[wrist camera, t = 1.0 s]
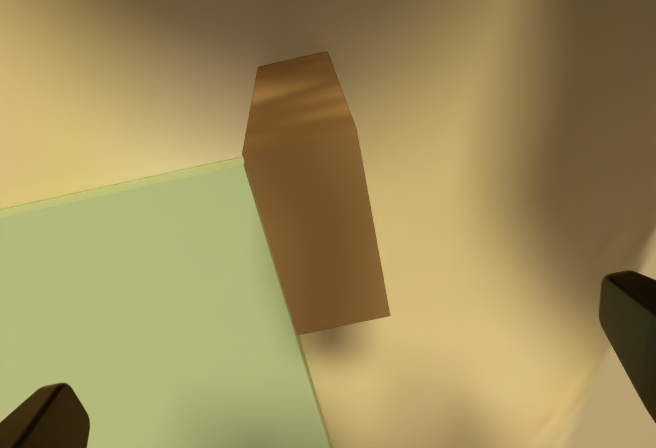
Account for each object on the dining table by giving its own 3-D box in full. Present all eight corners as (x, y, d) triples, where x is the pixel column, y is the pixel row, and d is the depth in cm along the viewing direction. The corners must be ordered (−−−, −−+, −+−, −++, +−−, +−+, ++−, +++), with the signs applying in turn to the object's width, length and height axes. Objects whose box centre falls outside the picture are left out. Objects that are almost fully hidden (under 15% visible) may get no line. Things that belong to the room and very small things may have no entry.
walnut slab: (327, 51, 18) (356, 128, 11) (353, 183, 20) (390, 315, 13) (257, 66, 18) (241, 153, 11) (292, 196, 20) (297, 335, 13)
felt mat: (244, 156, 19) (243, 165, 19) (333, 452, 28) (334, 465, 27) (-145, 241, 20) (-160, 252, 19) (58, 507, 28) (52, 521, 27)
